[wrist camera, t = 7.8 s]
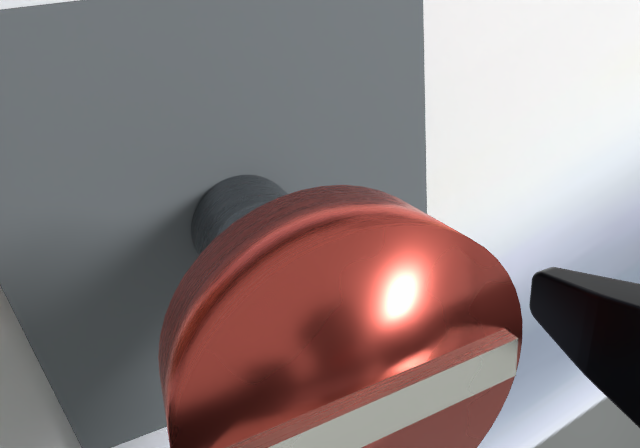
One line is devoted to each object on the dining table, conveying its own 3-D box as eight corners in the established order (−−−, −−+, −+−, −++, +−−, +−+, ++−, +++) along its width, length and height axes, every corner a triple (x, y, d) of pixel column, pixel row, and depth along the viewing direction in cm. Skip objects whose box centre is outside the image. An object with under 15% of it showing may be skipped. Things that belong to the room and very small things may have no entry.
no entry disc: (323, 107, 14) (549, 184, 7) (344, 279, 16) (525, 468, 9) (109, 152, 12) (110, 324, 5) (170, 338, 14) (229, 630, 7)
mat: (423, 321, 19) (428, 326, 19) (87, 447, 16) (86, 457, 15) (414, -38, 14) (422, -40, 13) (-122, 24, 10) (-131, 24, 9)
